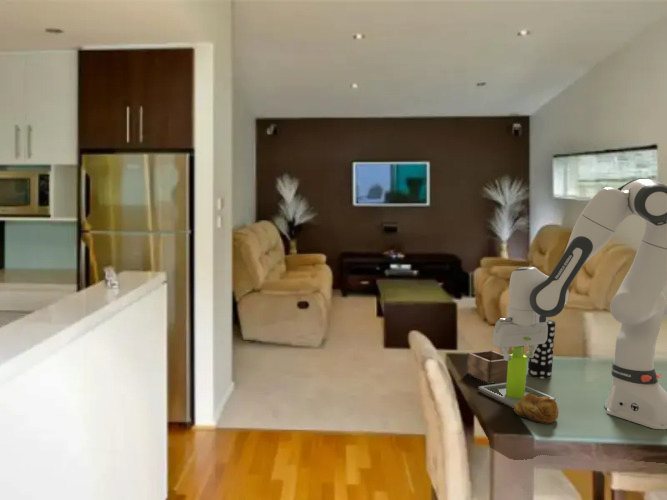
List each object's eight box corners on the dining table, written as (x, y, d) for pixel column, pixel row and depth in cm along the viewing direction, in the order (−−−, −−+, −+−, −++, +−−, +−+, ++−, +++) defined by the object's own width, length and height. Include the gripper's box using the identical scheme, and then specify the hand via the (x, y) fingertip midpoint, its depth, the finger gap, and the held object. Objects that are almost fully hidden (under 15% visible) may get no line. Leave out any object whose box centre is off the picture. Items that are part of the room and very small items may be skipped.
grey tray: (555, 403, 196) (555, 398, 196) (516, 410, 189) (516, 404, 189) (515, 386, 212) (515, 381, 212) (478, 391, 205) (478, 386, 205)
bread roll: (508, 416, 184) (510, 390, 183) (521, 408, 191) (523, 383, 190) (551, 428, 176) (553, 401, 175) (563, 419, 183) (565, 393, 182)
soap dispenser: (520, 400, 196) (524, 338, 194) (502, 394, 201) (506, 334, 199) (530, 397, 200) (535, 336, 198) (512, 391, 205) (516, 332, 203)
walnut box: (512, 381, 218) (514, 358, 217) (488, 384, 213) (489, 361, 212) (490, 371, 229) (491, 350, 228) (466, 374, 224) (467, 352, 223)
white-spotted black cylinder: (548, 372, 230) (552, 319, 228) (553, 379, 222) (558, 324, 220) (525, 371, 231) (529, 318, 229) (530, 377, 223) (534, 323, 221)
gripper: (503, 321, 190) (500, 364, 192) (552, 316, 199) (549, 358, 201) (489, 316, 196) (486, 359, 197) (537, 313, 205) (534, 353, 207)
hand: (518, 359), depth 199 cm, fingers open, 8 cm apart
